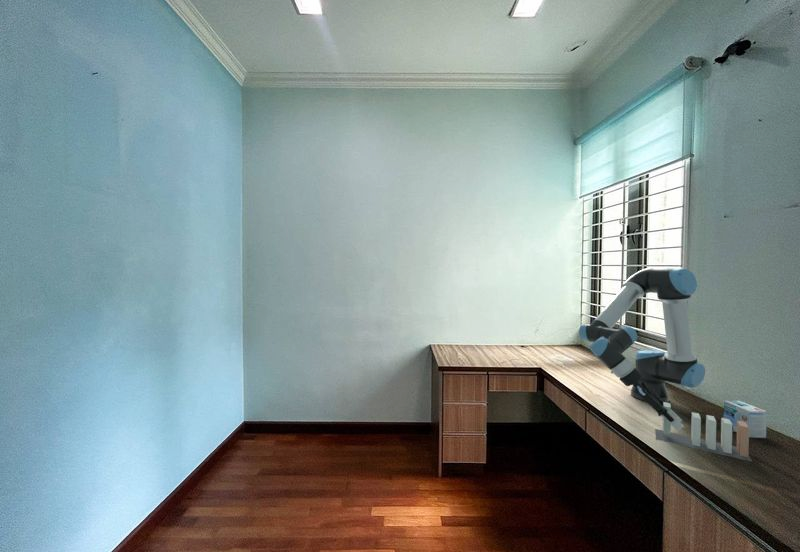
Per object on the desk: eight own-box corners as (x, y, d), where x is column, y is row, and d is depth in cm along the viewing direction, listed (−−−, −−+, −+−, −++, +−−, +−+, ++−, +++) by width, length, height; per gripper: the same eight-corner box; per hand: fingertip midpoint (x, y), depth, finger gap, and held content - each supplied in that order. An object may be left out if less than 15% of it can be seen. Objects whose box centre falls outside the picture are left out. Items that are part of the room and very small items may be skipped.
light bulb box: (722, 426, 137) (722, 400, 137) (739, 426, 137) (740, 400, 136) (748, 439, 126) (749, 411, 126) (767, 440, 126) (768, 411, 126)
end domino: (736, 449, 118) (737, 420, 118) (744, 451, 117) (745, 422, 116) (739, 455, 114) (740, 426, 113) (748, 457, 112) (749, 427, 112)
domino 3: (705, 442, 122) (706, 414, 122) (713, 444, 121) (713, 416, 121) (707, 448, 118) (708, 419, 118) (715, 450, 117) (716, 421, 117)
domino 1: (662, 428, 129) (663, 402, 129) (669, 429, 128) (670, 403, 128) (663, 433, 125) (664, 406, 125) (670, 434, 124) (670, 407, 124)
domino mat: (655, 430, 133) (655, 428, 133) (744, 450, 118) (744, 448, 118) (656, 441, 125) (656, 439, 125) (752, 464, 110) (752, 461, 110)
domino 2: (691, 439, 125) (691, 412, 124) (698, 440, 123) (698, 413, 123) (692, 444, 121) (693, 416, 120) (700, 446, 119) (700, 418, 119)
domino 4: (720, 445, 120) (721, 417, 120) (728, 447, 119) (729, 419, 119) (723, 451, 116) (724, 422, 116) (731, 453, 115) (732, 424, 115)
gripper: (619, 372, 142) (668, 421, 133) (617, 384, 128) (672, 440, 119) (635, 362, 139) (686, 411, 130) (634, 372, 125) (692, 429, 115)
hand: (679, 425), depth 124 cm, fingers closed on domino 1, 5 cm apart
